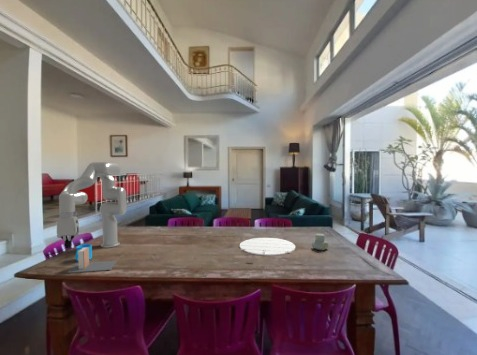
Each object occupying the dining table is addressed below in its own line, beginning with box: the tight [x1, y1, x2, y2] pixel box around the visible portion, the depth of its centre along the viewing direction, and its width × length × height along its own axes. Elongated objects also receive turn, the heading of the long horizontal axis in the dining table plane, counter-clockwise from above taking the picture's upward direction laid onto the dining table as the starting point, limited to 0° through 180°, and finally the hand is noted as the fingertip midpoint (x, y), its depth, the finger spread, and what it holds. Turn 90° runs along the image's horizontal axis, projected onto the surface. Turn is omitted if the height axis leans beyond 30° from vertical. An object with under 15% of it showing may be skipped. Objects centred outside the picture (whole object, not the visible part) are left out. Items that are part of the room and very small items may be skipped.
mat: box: [66, 260, 118, 274], centre depth 155 cm, size 14×22×1 cm, turn 100°
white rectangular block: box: [77, 247, 90, 269], centre depth 154 cm, size 7×3×10 cm, turn 10°
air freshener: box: [311, 233, 329, 251], centre depth 185 cm, size 11×8×10 cm
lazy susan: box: [239, 237, 296, 257], centre depth 192 cm, size 40×39×3 cm
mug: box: [74, 243, 93, 262], centre depth 167 cm, size 12×8×8 cm
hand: (68, 247), depth 152 cm, fingers closed
